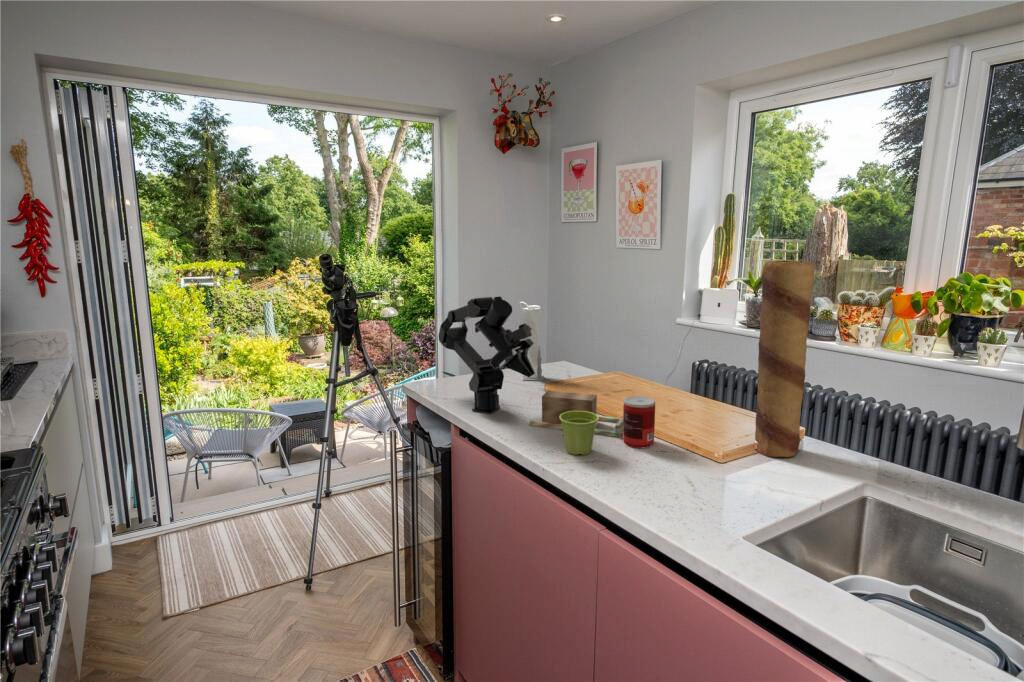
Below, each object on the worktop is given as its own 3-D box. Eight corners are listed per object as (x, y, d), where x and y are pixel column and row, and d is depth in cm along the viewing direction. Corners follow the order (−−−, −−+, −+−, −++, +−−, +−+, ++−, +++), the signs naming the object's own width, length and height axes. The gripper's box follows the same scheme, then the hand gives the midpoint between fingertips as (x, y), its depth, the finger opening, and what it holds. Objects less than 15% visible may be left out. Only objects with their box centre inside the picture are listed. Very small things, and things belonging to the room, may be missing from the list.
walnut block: (542, 424, 159) (541, 396, 157) (548, 417, 164) (548, 390, 163) (591, 429, 154) (592, 400, 153) (596, 422, 160) (596, 394, 158)
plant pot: (606, 450, 139) (606, 415, 137) (583, 461, 132) (583, 425, 130) (574, 441, 145) (575, 408, 144) (551, 451, 138) (551, 417, 137)
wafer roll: (756, 439, 144) (768, 259, 136) (802, 448, 138) (818, 260, 130) (745, 452, 136) (757, 261, 127) (794, 462, 130) (810, 262, 121)
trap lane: (522, 430, 153) (521, 419, 153) (551, 407, 173) (551, 398, 172) (613, 443, 143) (613, 432, 142) (633, 417, 163) (634, 407, 162)
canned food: (651, 437, 147) (652, 396, 145) (656, 448, 139) (657, 405, 137) (621, 436, 148) (622, 395, 146) (624, 448, 140) (625, 404, 138)
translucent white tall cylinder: (518, 380, 205) (517, 303, 200) (521, 375, 213) (520, 300, 208) (541, 381, 204) (541, 303, 199) (544, 375, 212) (543, 300, 207)
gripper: (499, 320, 152) (538, 364, 150) (527, 311, 169) (562, 350, 166) (474, 347, 157) (511, 390, 154) (503, 335, 174) (537, 374, 171)
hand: (532, 375), depth 162 cm, fingers closed
